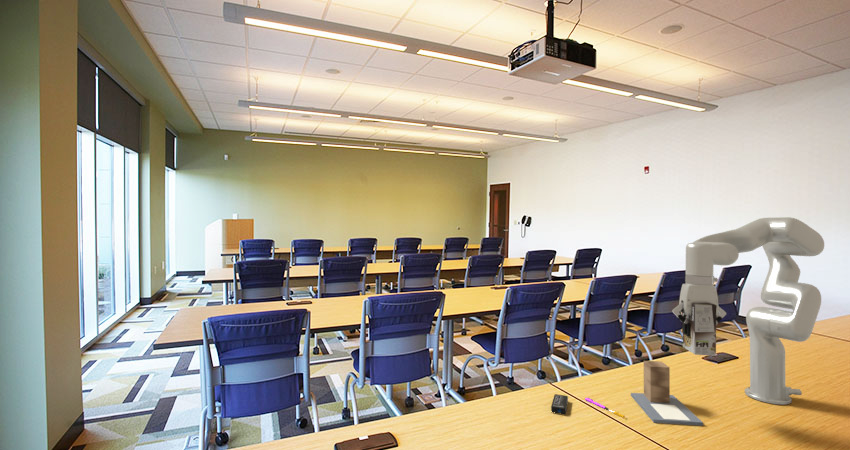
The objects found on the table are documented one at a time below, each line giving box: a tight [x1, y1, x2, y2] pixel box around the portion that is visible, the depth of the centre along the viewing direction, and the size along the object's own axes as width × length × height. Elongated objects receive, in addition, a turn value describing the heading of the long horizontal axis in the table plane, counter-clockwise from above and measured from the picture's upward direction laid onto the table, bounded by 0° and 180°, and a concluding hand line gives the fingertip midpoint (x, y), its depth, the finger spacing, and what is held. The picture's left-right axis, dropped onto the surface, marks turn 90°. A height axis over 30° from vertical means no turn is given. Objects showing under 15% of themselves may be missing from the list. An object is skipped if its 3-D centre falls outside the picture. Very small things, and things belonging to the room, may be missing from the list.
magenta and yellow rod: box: [584, 397, 628, 420], centre depth 135 cm, size 3×1×16 cm
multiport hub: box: [550, 393, 569, 415], centre depth 136 cm, size 4×11×2 cm, turn 157°
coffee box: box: [682, 303, 717, 357], centre depth 131 cm, size 9×6×16 cm
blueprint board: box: [630, 360, 704, 427], centre depth 134 cm, size 14×20×13 cm
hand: (698, 335), depth 131 cm, fingers closed on coffee box, 6 cm apart
